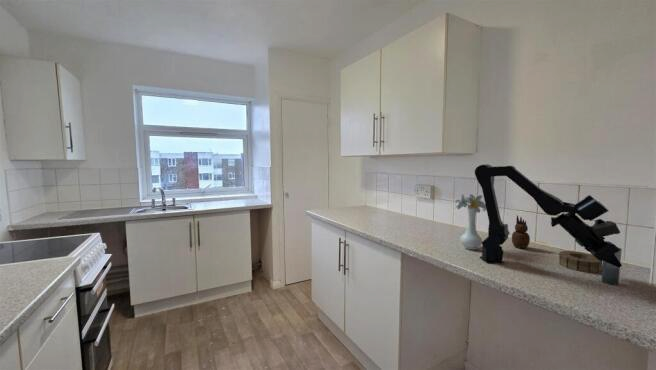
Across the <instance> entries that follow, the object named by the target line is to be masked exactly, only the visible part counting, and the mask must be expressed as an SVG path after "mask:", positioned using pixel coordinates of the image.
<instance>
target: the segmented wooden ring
mask: <svg viewBox="0 0 656 370" xmlns="http://www.w3.org/2000/svg"><path fill="white" fill-rule="evenodd" d="M558 264H559V265H560V266H562V267H564V268H567V269H569V270H573V271H577V272H584V273H590V274H591V273H596V274H597V273H600V272H602V269H603V261H599V260H598V259H597V258H595V257H594V256H593V255H592V254H591V253H588V252H582V251H576V250H575V251H574V250H561V251H559V252H558Z"/></svg>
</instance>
